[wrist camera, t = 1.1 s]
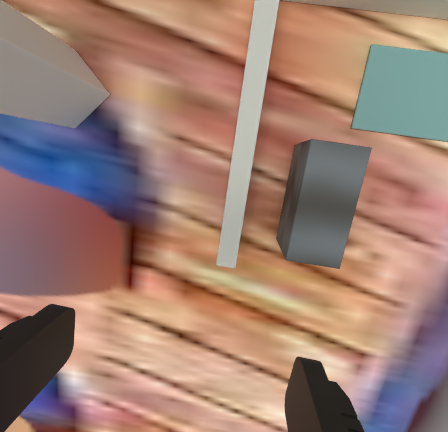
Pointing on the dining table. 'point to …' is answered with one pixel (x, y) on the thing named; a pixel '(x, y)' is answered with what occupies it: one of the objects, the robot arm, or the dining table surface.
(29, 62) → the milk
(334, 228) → the bar
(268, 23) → the arena
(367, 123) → the pad
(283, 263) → the dining table surface
